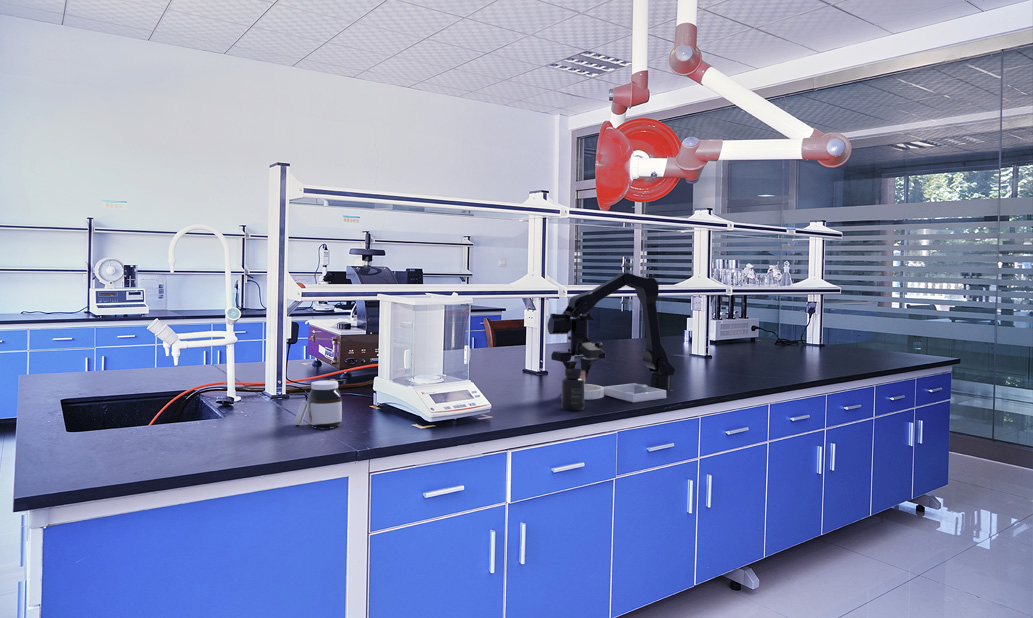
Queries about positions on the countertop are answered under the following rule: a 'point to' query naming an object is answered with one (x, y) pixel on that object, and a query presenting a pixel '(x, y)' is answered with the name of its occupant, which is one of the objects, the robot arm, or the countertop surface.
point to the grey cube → (640, 388)
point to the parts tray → (628, 393)
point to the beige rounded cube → (583, 375)
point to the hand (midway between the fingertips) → (578, 380)
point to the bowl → (593, 391)
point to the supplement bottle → (572, 390)
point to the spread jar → (322, 405)
